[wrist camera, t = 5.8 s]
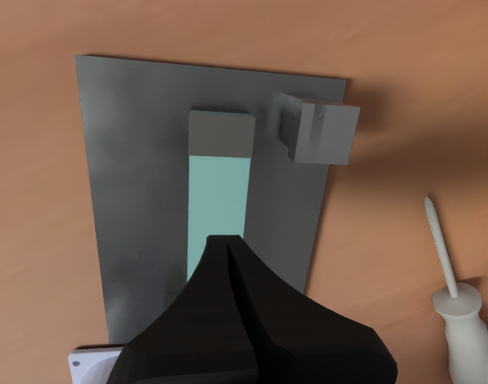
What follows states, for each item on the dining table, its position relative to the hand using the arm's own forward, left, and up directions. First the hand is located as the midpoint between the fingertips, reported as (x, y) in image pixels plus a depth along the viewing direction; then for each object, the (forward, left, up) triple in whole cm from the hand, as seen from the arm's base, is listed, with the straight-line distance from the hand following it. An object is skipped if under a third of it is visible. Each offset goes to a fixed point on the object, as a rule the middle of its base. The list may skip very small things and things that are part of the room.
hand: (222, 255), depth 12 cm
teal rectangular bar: (-2, 0, -5) cm, 6 cm away
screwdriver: (-10, -21, -8) cm, 25 cm away
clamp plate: (-2, 0, -7) cm, 8 cm away
